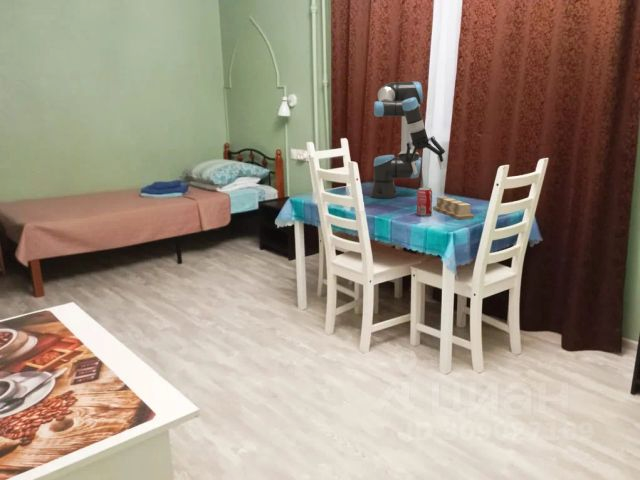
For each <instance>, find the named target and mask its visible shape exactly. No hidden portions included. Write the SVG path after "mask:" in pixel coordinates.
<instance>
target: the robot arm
mask: <svg viewBox="0 0 640 480" xmlns="http://www.w3.org/2000/svg"><path fill="white" fill-rule="evenodd" d="M423 99H424V96H423V87H422V84H421V82H419V81H413V80H412V81H392V82H389V83H386V84H384V85H383V86H381V88H379V90H378V92H377V100H378V101H374V103H373V104H374V105H373V115H374V116H375V117H378V118H379V117H380V118H382V117H383V118H384V117H385V118H387V117H401V134H400V135H401V137H400V139H401V140H400V141H401V142H400V143H401V144H400V145H401V146H400V150H401V151H400V152H399V153H398V157H396V156H395V155H394V154H387V155H386V154H385V155H379V156H377V157H375V158H374V160H373V183H372V187H371V190H370V191H369V192H370V197H371V198H375V199H394V198H397V195H398V192H397V189H396V186H395V179H418V177H419V176H420V173H421V166H422V160H423V159H422V157H420V154H419V152H417V151H418V150H423V149H428V150H430V151H431V152H433V153H434V154H435V155H437V157H436V159H437V161H438V165H439V168H440V170H443V169H444V165H443V162H444V157H443V154H445V153H446V150H445V148H443V147H442V146H441V144H440V143H439V142H438V141H437V139H436V137H435V136H434V135H432V136H431V137H428V135H427V130H426V128H425V124H424V119H423V117H422V116H423V115H422V113H421V108H420V107H421V104H422V103H423V102H424V100H423ZM429 142H431V143H432V144H433V145H432V144H431V143H429Z"/></svg>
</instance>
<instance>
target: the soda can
mask: <svg viewBox="0 0 640 480" xmlns="http://www.w3.org/2000/svg"><path fill="white" fill-rule="evenodd" d="M416 198H417V199H416V214H417V215H418V216H420V217H430V216H431V215H432V214H433V212H432V211H433V190H432V188H431V187H419V188H418V190H417V191H416Z"/></svg>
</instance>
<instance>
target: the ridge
mask: <svg viewBox="0 0 640 480" xmlns="http://www.w3.org/2000/svg"><path fill="white" fill-rule="evenodd" d="M471 206H472V204H470V203H467V202H464V201H461V200H458V199H455V198H452V197H449V196H446V195H445V196H436V206H432V211H436V212H437V213H441V214H443V215H446V216H448V217H451V218H453V219H456V220H460V221H461V220H469V219H470V220H471V219H475V215H474V214H473V213H471V208H472V207H471Z"/></svg>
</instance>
